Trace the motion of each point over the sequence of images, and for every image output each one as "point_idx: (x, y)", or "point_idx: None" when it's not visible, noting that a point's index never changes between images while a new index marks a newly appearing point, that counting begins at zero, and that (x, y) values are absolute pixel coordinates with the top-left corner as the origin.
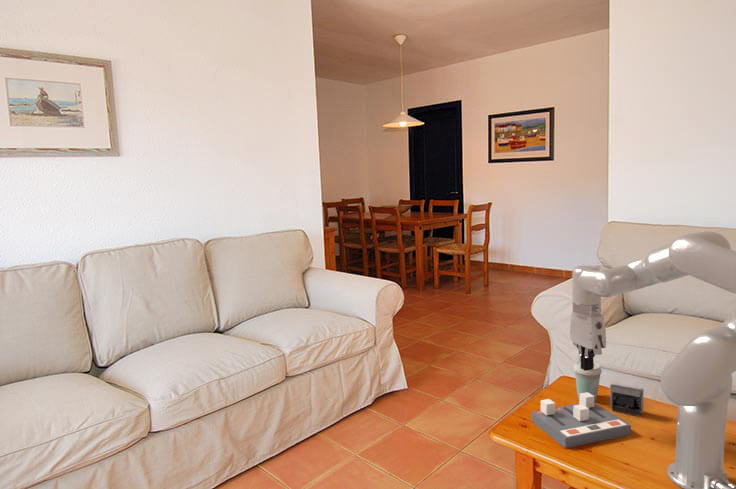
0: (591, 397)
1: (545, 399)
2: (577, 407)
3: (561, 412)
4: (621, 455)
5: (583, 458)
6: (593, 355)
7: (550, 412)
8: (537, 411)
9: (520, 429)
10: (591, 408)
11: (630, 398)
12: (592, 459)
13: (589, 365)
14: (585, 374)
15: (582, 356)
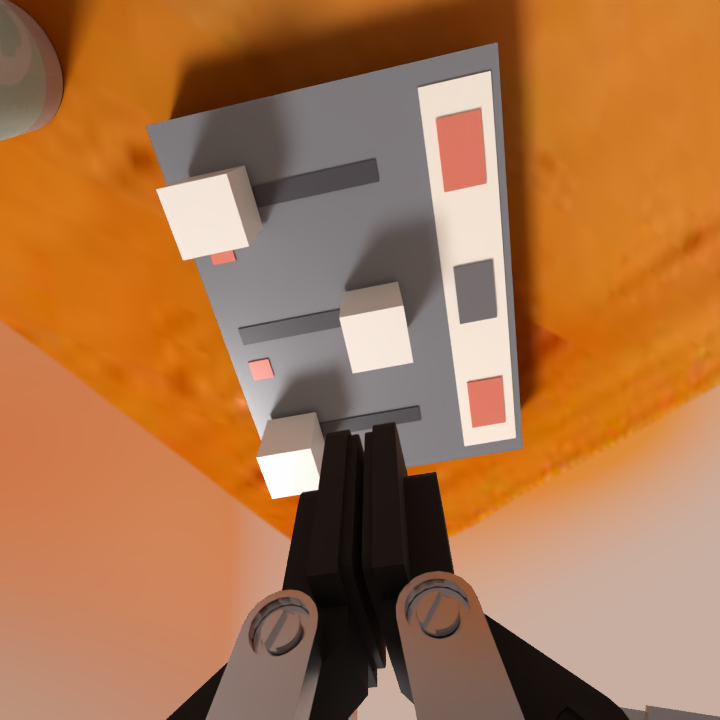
0: (235, 198)
1: (263, 475)
2: (379, 362)
3: (294, 372)
4: (632, 227)
5: (592, 389)
6: (522, 657)
7: (321, 441)
8: None
9: None
10: (259, 189)
11: None
12: (611, 361)
13: (446, 530)
14: None
15: (373, 676)
